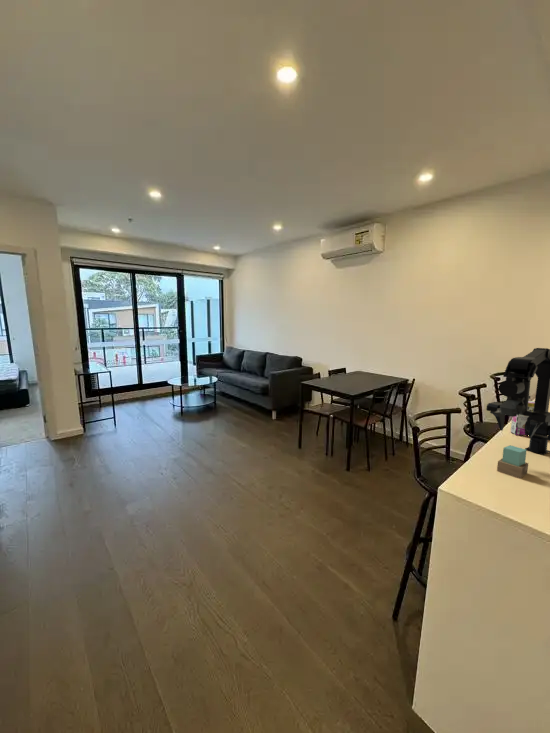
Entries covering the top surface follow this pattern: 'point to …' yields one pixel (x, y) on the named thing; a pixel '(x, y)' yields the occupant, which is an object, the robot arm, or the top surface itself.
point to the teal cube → (514, 455)
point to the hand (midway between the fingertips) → (515, 433)
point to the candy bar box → (521, 421)
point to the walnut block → (512, 469)
